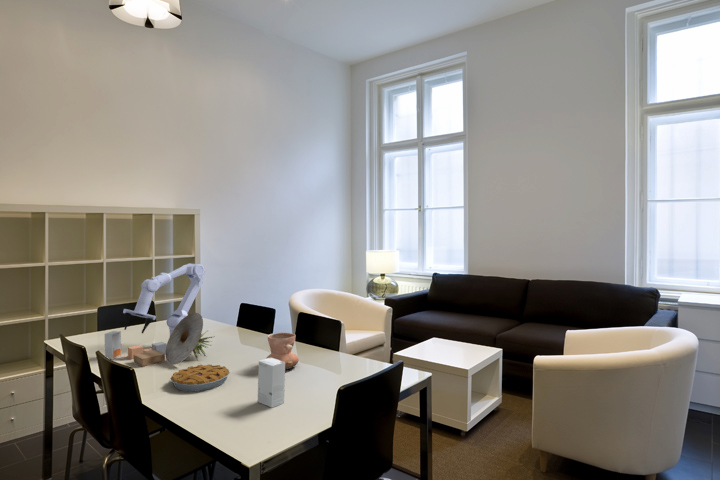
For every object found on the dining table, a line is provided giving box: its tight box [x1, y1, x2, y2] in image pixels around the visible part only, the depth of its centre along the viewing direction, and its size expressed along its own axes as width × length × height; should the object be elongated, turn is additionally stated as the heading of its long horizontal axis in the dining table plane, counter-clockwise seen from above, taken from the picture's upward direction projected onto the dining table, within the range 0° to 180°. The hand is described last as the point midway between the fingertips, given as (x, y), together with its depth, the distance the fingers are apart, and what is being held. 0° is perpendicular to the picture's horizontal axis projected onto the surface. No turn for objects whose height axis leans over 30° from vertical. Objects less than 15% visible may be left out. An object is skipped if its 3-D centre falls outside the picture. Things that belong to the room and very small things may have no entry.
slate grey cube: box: [151, 341, 167, 354], centre depth 218 cm, size 5×5×5 cm
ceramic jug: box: [265, 332, 300, 371], centre depth 195 cm, size 18×14×14 cm
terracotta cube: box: [127, 344, 144, 360], centre depth 212 cm, size 5×5×5 cm
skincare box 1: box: [104, 330, 122, 360], centre depth 212 cm, size 6×4×12 cm
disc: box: [165, 312, 215, 365], centre depth 210 cm, size 25×18×25 cm
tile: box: [143, 346, 152, 353], centre depth 222 cm, size 7×7×1 cm
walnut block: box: [133, 350, 166, 368], centre depth 204 cm, size 10×10×4 cm
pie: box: [170, 364, 231, 392], centre depth 177 cm, size 22×22×5 cm
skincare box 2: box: [257, 357, 286, 408], centre depth 156 cm, size 8×6×15 cm
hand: (133, 331), depth 212 cm, fingers open, 7 cm apart
